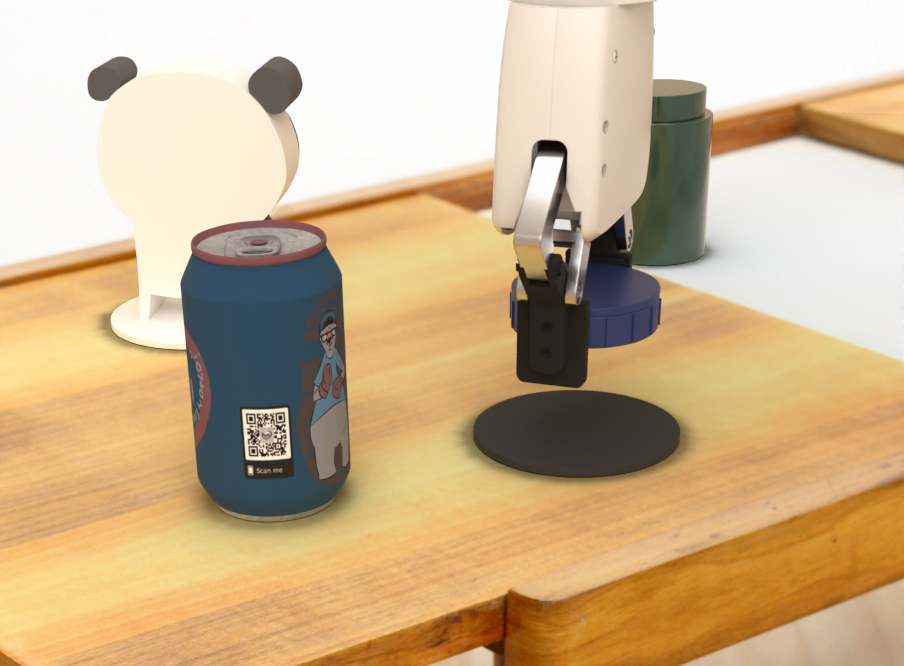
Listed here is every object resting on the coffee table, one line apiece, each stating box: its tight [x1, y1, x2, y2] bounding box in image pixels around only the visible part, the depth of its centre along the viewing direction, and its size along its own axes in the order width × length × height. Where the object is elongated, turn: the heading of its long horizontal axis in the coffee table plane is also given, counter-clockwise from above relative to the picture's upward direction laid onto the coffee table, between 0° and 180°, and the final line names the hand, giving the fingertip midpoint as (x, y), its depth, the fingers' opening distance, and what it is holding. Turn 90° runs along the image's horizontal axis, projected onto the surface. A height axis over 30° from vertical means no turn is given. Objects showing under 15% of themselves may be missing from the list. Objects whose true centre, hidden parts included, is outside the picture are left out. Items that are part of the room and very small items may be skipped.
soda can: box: [180, 219, 352, 523], centre depth 68 cm, size 7×7×12 cm
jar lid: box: [509, 263, 663, 350], centre depth 73 cm, size 7×7×2 cm
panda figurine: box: [87, 55, 304, 351], centre depth 90 cm, size 12×11×15 cm
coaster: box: [472, 389, 681, 478], centre depth 76 cm, size 10×10×1 cm
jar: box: [620, 78, 714, 266], centre depth 100 cm, size 7×7×11 cm
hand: (574, 353), depth 74 cm, fingers closed on jar lid, 6 cm apart
